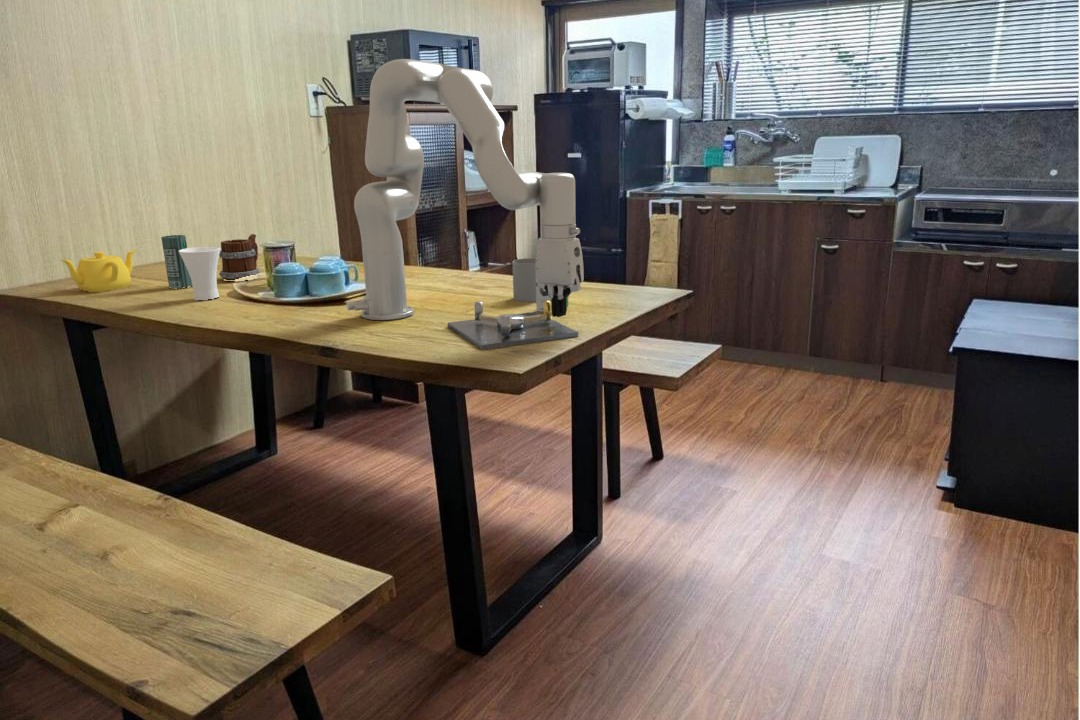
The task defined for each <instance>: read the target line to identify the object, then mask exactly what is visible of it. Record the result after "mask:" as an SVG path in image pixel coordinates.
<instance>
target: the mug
mask: <svg viewBox="0 0 1080 720" xmlns="http://www.w3.org/2000/svg"><path fill="white" fill-rule="evenodd" d="M256 238H257V234H255V233H253V234H250V235H249V236H248V238H247V239H243V238H242V239H231V240H230V239H228V240H222V241H221V242H220V248H221V249H220V254H219V258H221V264H222V265H221V266H222V270H220V272H219V273H218V274H219V276H220V278H222V280H223V279H226V280H235V279H239V278H242V277H246V276H250V275H256V274H258V273H261V272H260V269H259V267H257V260H258V256H259V255H258V254H259V248H258V244H257V243H256Z"/></svg>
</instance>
